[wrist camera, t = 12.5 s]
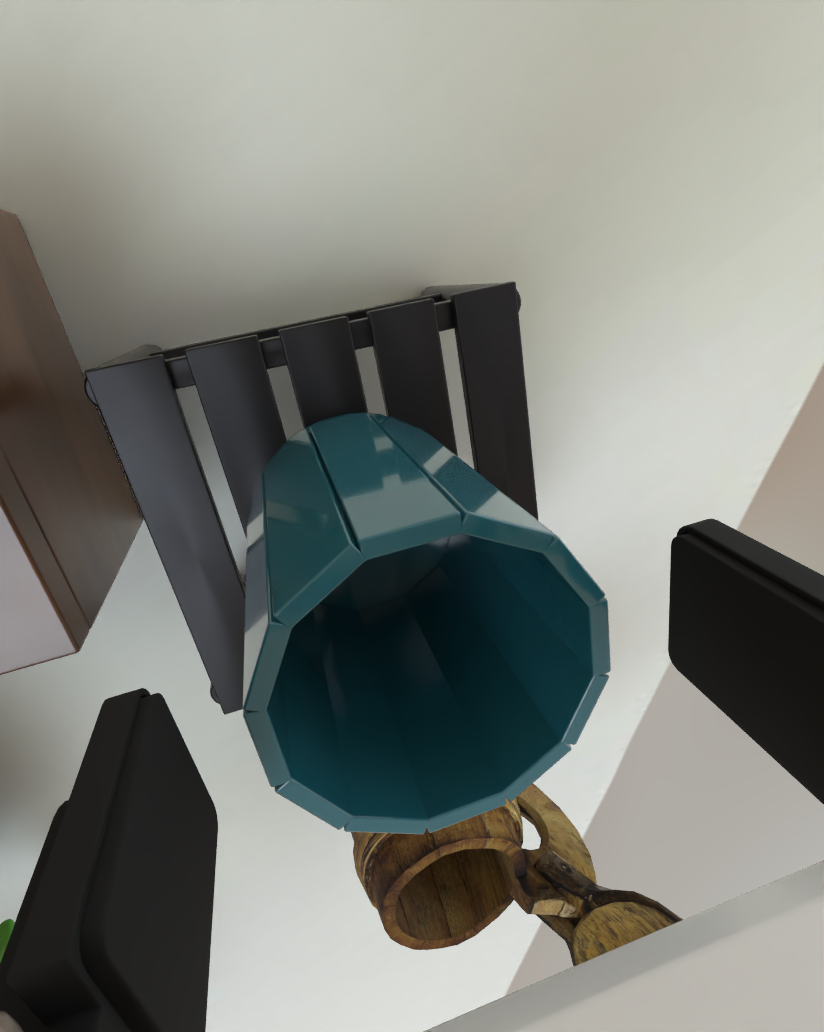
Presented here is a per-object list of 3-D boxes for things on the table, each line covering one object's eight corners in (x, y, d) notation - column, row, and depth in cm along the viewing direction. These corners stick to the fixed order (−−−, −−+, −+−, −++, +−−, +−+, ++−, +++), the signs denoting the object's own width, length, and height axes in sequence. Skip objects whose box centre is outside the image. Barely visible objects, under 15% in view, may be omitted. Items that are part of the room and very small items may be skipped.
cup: (221, 442, 16) (190, 586, 8) (441, 390, 18) (603, 472, 9) (283, 632, 19) (307, 880, 11) (470, 577, 20) (615, 765, 12)
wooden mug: (509, 770, 36) (721, 1164, 20) (295, 769, 31) (342, 1274, 15) (555, 650, 33) (843, 989, 17) (329, 630, 29) (427, 1062, 13)
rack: (130, 348, 22) (71, 373, 15) (444, 283, 24) (525, 279, 17) (225, 604, 27) (215, 718, 20) (479, 532, 29) (554, 610, 22)
